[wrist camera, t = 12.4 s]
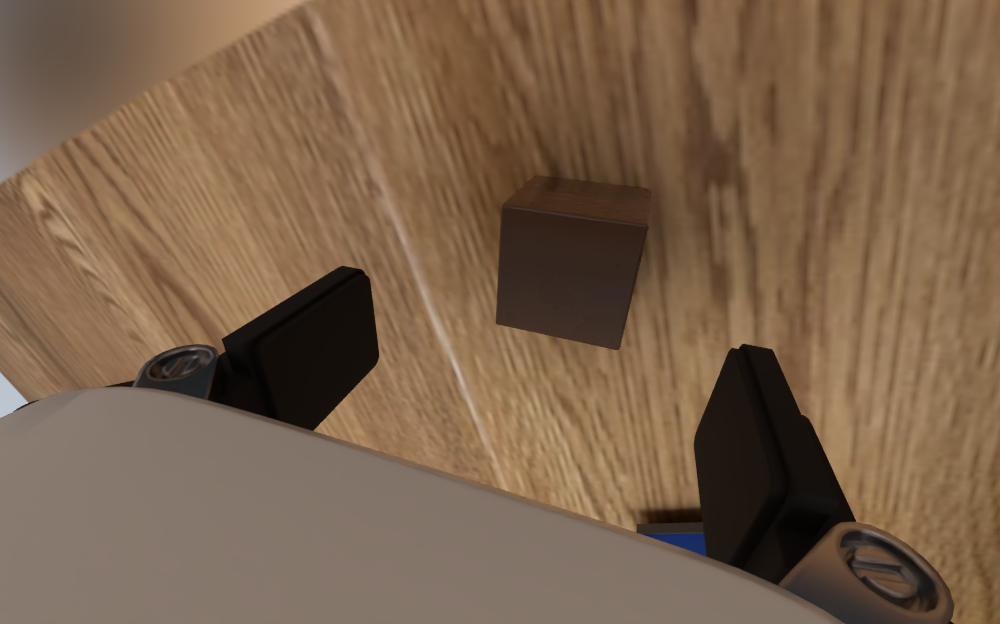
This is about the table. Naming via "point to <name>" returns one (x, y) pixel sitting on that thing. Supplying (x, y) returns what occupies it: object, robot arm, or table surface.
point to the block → (571, 258)
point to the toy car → (677, 534)
